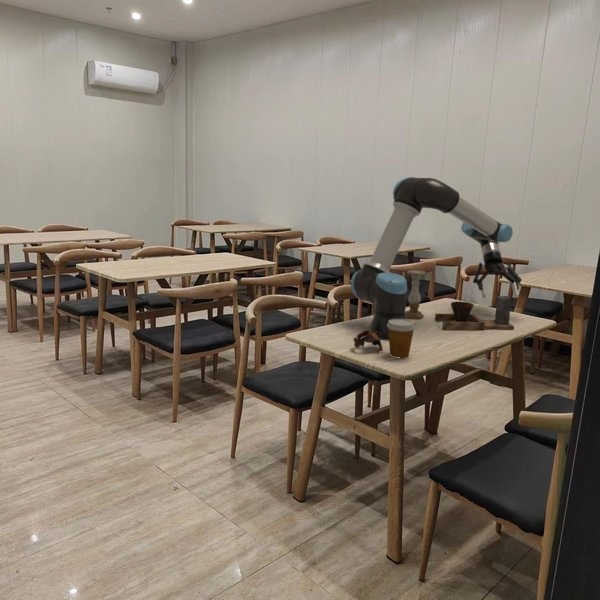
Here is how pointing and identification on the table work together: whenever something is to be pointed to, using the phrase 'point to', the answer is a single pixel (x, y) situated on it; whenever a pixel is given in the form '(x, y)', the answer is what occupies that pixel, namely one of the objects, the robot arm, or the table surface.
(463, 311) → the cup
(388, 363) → the table surface
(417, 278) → the candle holder
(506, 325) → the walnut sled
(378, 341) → the dark brown arched piece
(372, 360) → the table surface
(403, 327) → the disposable coffee cup
